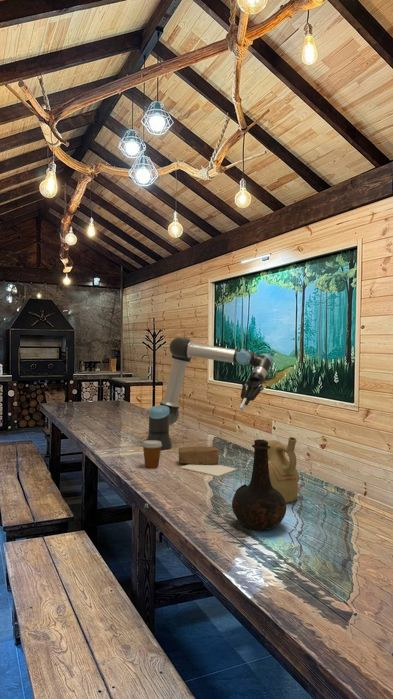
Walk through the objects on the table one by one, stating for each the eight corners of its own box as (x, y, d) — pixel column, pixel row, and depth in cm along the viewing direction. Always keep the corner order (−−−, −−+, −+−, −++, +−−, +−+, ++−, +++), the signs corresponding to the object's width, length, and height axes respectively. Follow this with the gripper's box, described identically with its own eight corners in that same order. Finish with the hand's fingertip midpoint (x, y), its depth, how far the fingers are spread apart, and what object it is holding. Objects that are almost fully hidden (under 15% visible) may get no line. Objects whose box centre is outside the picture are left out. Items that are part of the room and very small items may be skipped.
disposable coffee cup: (160, 469, 213) (161, 444, 212) (140, 469, 213) (141, 443, 213) (162, 464, 222) (163, 440, 222) (143, 464, 222) (143, 439, 222)
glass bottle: (250, 511, 161) (252, 432, 161) (295, 524, 150) (297, 440, 149) (220, 525, 147) (222, 439, 147) (268, 541, 136) (270, 448, 136)
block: (219, 449, 220) (178, 450, 220) (219, 465, 220) (178, 465, 220) (218, 445, 231) (178, 445, 231) (218, 459, 231) (179, 459, 231)
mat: (180, 468, 216) (180, 467, 216) (200, 462, 229) (200, 460, 229) (218, 477, 203) (218, 475, 203) (237, 469, 215) (237, 468, 215)
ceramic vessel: (284, 488, 188) (285, 428, 188) (312, 504, 170) (314, 437, 170) (247, 492, 182) (249, 430, 182) (273, 509, 164) (274, 440, 163)
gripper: (245, 371, 254) (228, 403, 240) (266, 372, 246) (249, 405, 233) (250, 380, 258) (233, 412, 245) (270, 381, 250) (254, 414, 237)
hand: (241, 409), depth 239 cm, fingers closed
